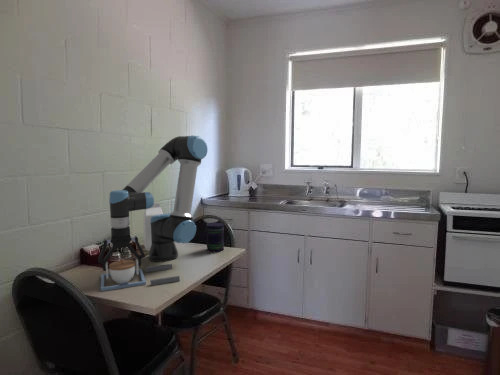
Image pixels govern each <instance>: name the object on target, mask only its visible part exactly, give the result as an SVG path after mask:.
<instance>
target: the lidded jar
mask: <svg viewBox="0 0 500 375" xmlns="http://www.w3.org/2000/svg"><path fill="white" fill-rule="evenodd" d="M108 270H109V273H110V275H111V279H112V280H113V281H114V282H115V283H116V284H120V283H121V282H128V283H130V282H131V280H132V279H133V278H134V276H135V274H136V273H135V270H136V260H135V261H134V260H133V259H120V260H115V261H112V262H111V263H110V264H109V265H108Z"/></svg>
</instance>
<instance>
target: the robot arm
mask: <svg viewBox="0 0 500 375" xmlns="http://www.w3.org/2000/svg"><path fill="white" fill-rule="evenodd" d="M207 154H208V145H207V142H206V141H205V139H204V138H203V137H201V136H200V135H184V136H180V135H179V136H176V137H173V138H171V139H170V140H169V141H168V142H166V143H165V144H164V145H163V146H162V147H161V148H160V149H159V150H158V152H157V155H156V156H154V157H153V159H152V160H150V162H149V163H148V164H147V165H146V166H144V168H142V170H140V172H138V173H137V175H135V177H133V179H131V181H130V182H128V184H126V186H125V187H123V188H122V189H119V190H118V189H117V190H112V191H110V192H109V199H108V200H109V213H110V217H109V218H110V227H111V228H110V233H111V234H110V235H111V237H110V238H109V239H106V238H104V239H103V245H102V248H101V250H100V254H99V256H98V260H97V262H98V264H102V271H103V272H105V274H106V277H105V278H106V280H108V279H109V277H108V273H109V265H108V264H109V262H108V260H109V259H110V257H111V256H112V254H113V253H114V252H115V250H116V249H117V250H118V249H126V248H127V249H128V250H129V251H130V252H131V253H132V254H133V256H134V257H135V270H136V273H135V274H136V275H140V273H139V269H140V268H139V267H142V261H141V260H142V259H143V258H146V255H145V253H144V250H143V248H142V246H141V245H140V243H139V238H138V236H137V235H135V236H131V230H130V229H131V227H130V224H131V223H130V212H134V211H140V210H145V209H148V208H151V207H152V206H153V204H154V202H155V198H154V195H153V194H152V193H151V192H149V191H147V192H146V191H145V190H146V189H147V188H148V187H149V186H150V185H151V184H152V183H153V181H155V180H156V178H158V177H159V176H160V174H161V173H162V172H163V171H164V170H165V169H167V167H168V166H169V165H172V164H174V163H175V162H176V161H178V163H179V164H180V165H179V172H178V178H177V185H176V192H175V198H174V206H173V210H172V212H171V213H163V214H160V215H154V216H152V217H151V223H150V224H151V240H152V244H151V248H150V249H149V251H148V259H149V260H150V261H153V262H167V261H172V260H175V259H177V258H178V257H179V252H178V249H177V247H176V246H177V245H176V243H178V244H186V243H189V242H191V240H193V239H194V238H195V236H196V232H197V225H196V223H195V222H194V221H193V220H194V216H193V215H192V213H191V212H192V207H193V199H194V192H195V186H196V178H197V172H198V167H199V166H200V165H202V164H201V163H202V160H203V159H204V158H205V157H206V156H207ZM144 191H145V192H144ZM131 241H132V242H133V243H135V246H136V247H137V249H138V252H139V253H138V252H137V250H135V248H134V247H133V246H132V245H131V244H130V243H131ZM109 244H112V246H111V248H110V249H109V251H108V252H107V254H106V255H105V252H106V249H107V246H108V245H109ZM104 255H105V257H104Z"/></svg>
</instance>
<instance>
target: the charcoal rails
mask: <svg viewBox="0 0 500 375" xmlns="http://www.w3.org/2000/svg"><path fill="white" fill-rule="evenodd" d="M172 269H173V264H172V263H169V264H162V265H161V264H160V265H154V266H153V265H152V266H147V267H145V272H146V273H151V272H157V271H158V272H159V271H164V270H165V271H166V270H172ZM180 278H181V276H180V275H175V276H168V277H162V278H155V279H150V286H156V285H163V284H168V283H169V284H170V283H176V282H180V280H181V279H180Z"/></svg>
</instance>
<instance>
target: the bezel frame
mask: <svg viewBox="0 0 500 375" xmlns="http://www.w3.org/2000/svg"><path fill="white" fill-rule="evenodd" d="M135 274H137V273H136V269H135ZM139 276H140V280H141V281H136V282H121V283H119V284H116V285H115V284H114V285H110V286H109V285H108V286H105V278H106V273H101V274H100V278H101V279H100V292H104V291H113V290H118V289H126V288H131V287H138V286H143V285H144V286H145V285H147V281H146V278H145V275H144V272H143V269H142V268H139ZM109 277H111V275H110V272H108V278H109Z"/></svg>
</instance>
